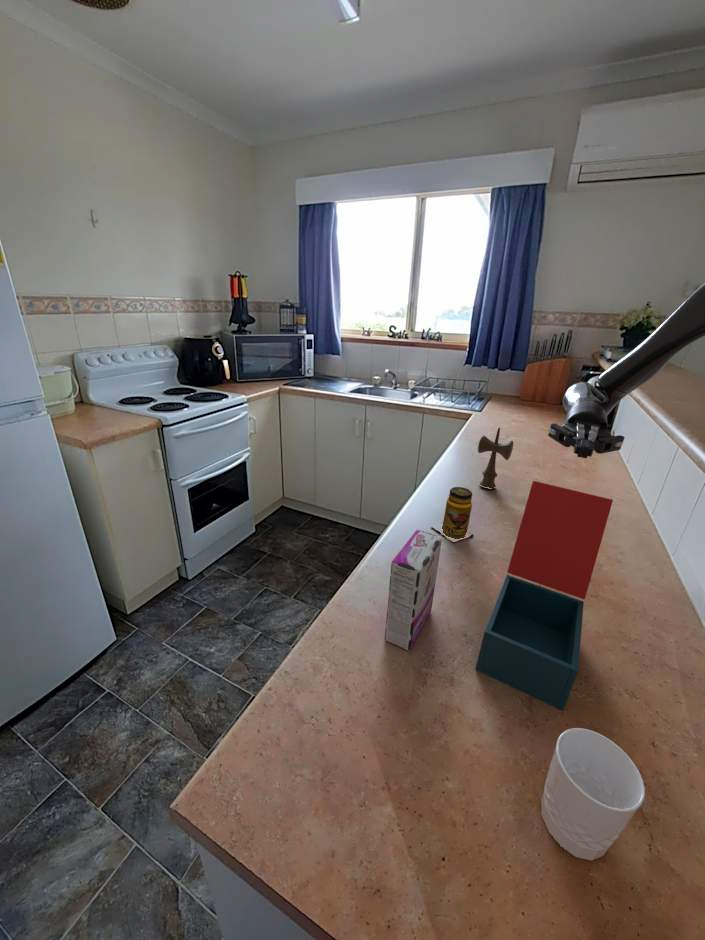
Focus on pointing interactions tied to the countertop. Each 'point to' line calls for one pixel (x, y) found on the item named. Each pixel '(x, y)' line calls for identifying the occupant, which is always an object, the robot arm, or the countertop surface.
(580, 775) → the white cup
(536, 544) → the lid
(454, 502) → the condiment
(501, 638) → the box
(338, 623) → the countertop surface
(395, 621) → the candy bar box
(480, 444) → the kendama
